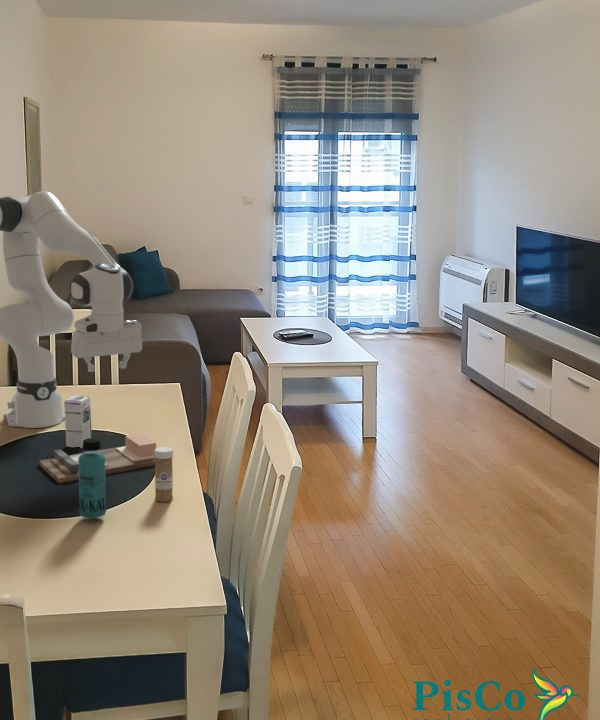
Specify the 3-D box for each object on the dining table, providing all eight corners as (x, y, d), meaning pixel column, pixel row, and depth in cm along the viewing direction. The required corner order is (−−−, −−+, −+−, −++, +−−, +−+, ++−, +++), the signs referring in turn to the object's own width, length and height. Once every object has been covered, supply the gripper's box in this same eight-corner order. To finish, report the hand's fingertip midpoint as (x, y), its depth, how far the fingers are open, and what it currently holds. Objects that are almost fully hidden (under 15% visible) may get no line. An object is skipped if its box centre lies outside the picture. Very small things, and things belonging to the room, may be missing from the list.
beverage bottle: (81, 514, 219) (78, 435, 215) (109, 513, 220) (107, 435, 215) (77, 524, 213) (74, 443, 209) (105, 524, 214) (103, 443, 209)
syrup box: (84, 448, 267) (82, 401, 264) (65, 446, 268) (63, 399, 265) (92, 442, 272) (90, 396, 269) (73, 441, 273) (72, 394, 270)
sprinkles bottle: (157, 503, 227) (157, 452, 224) (152, 497, 231) (152, 447, 228) (175, 501, 229) (175, 450, 226) (170, 495, 233) (169, 445, 230)
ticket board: (39, 465, 252) (38, 451, 251) (132, 449, 267) (132, 436, 266) (58, 483, 239) (58, 469, 238) (156, 465, 254) (155, 451, 253)
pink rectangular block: (116, 449, 262) (115, 436, 261) (141, 445, 266) (141, 432, 265) (133, 461, 252) (132, 448, 251) (159, 457, 257) (159, 443, 256)
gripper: (137, 317, 262) (136, 363, 266) (68, 322, 251) (69, 370, 254) (146, 321, 257) (145, 368, 261) (77, 327, 246) (77, 376, 249)
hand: (107, 369), depth 258 cm, fingers open, 8 cm apart
